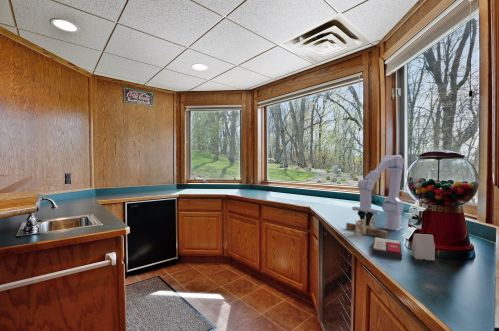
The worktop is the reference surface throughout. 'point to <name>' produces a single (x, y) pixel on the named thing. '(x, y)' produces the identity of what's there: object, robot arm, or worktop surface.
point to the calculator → (387, 248)
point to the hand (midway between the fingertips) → (365, 224)
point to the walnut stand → (368, 230)
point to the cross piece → (364, 226)
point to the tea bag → (423, 247)
